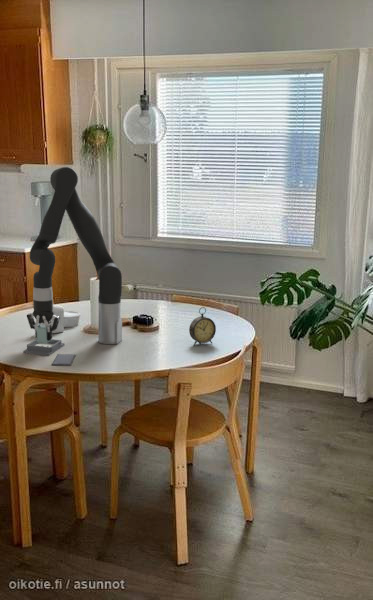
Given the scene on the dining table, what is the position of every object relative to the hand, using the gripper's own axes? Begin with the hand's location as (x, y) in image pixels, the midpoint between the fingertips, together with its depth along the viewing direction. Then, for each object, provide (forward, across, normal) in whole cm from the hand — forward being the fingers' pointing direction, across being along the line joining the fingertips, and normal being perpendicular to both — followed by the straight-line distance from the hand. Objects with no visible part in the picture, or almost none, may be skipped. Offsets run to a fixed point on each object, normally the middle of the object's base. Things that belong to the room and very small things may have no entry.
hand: (43, 339), depth 236 cm
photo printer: (+4, +7, -22) cm, 23 cm away
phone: (+5, -13, +10) cm, 17 cm away
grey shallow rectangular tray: (+4, 0, 0) cm, 4 cm away
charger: (+1, 0, 0) cm, 1 cm away
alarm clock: (+4, -59, -27) cm, 65 cm away
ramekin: (+4, +6, -36) cm, 37 cm away
